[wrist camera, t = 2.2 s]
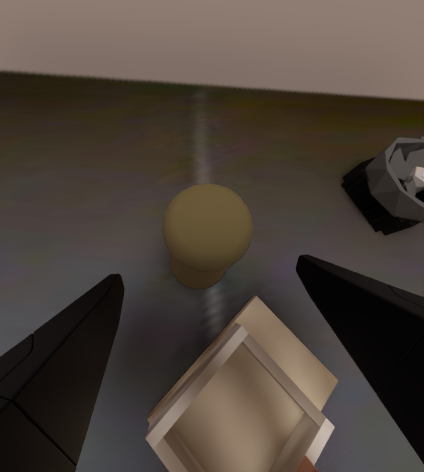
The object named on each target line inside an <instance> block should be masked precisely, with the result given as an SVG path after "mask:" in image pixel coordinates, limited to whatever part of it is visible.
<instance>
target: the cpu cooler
mask: <svg viewBox="0 0 424 472" xmlns="http://www.w3.org/2000/svg"><path fill="white" fill-rule="evenodd" d="M343 179H344V181H345V183H343V184H342V185H343V187H344V189H345V187H346V188H347V187H348V188H347V190H346V189H345V191H346V192H347V191H348V193H349V192H351V193H349V194H350V196H351V198H352V199H353V197H354V199H356V198H357V199H356V200H354V199H353V200H354V202H355V201H356V202H357V201H358V202H357V204H358V205H359V203H360V204H361V202H362V204H364V203H366V202H367V203H368V204H367V203H366V205H365V204H364V206H363V205H362V204H361V205H362V207H363V209H364V207H365V208H366V206H367V207H369V206H371V205H373V204H374V205H376V204H377V205H378V207H380V209H381V211H380V209H379V208H378V207H377V206H376V208H377V209H378V210H379V211H380V213H379V212H378V210H377V209H376V208H375V207H374V209H375V210H376V211H377V212H378V214H380V215H378V214H377V213H376V211H375V210H374V209H373V208H372V210H373V211H374V212H375V213H376V215H378V216H376V215H375V214H374V212H373V211H372V210H371V209H369V210H370V211H371V212H372V213H373V214H374V216H376V217H374V216H373V215H372V217H374V218H373V219H374V220H375V221H376V222H377V223H378V224H376V222H375V221H374V220H373V219H371V220H372V221H373V222H374V223H375V224H376V226H377V227H378V228H379V229H380V230H382V232H383V233H384V235H388V234H391V233H394V232H397V231H400V230H403V229H406V228H409V227H412V226H414V225H416V224H418V223H419V222H420V223H424V137H421V138H419V139H412V138H401V137H398V138H397V139H396V140H395V141H394V142H392V143H391V144H390V145H389V146H387V147H386V148H385V149H384V150H383V151H381V152H380V153H379V154H378V155H377V156H376V157H375V158H372V159H370V160H367V161H365V162H361V163H360V164H359V165H358V166H356V167H355V168H354V169H353V170H351V171H350V172H349V173H348V174H346V175H345V176H344V177H343ZM349 194H348V195H349ZM351 194H352V195H351ZM352 196H353V197H352ZM355 204H356V203H355ZM357 204H356V205H357ZM374 205H373V206H374ZM359 206H360V205H359ZM357 207H358V206H357ZM362 207H360V208H361V209H362ZM371 207H372V206H371ZM369 208H370V207H369ZM358 209H359V208H358ZM359 210H360V209H359ZM369 210H367V211H368V212H369V213H370V214H372V213H371V212H370V211H369ZM367 211H365V212H366V213H367V214H368V215H369V213H368V212H367ZM365 212H363V213H364V214H365V215H366V213H365ZM363 213H362V214H363ZM364 214H363V215H364ZM366 216H367V215H366ZM364 217H365V216H364ZM369 217H370V218H372V217H371V216H369ZM369 217H367V218H368V219H369ZM367 218H366V219H367ZM371 220H369V221H370V222H371V223H372V224H373V225H374V223H373V222H372V221H371ZM377 220H378V221H377ZM369 221H368V222H369ZM370 222H369V223H370ZM370 225H371V224H370ZM376 226H375V225H374V227H375V228H376V229H377V230H378V231H380V230H379V229H378V228H377V227H376ZM379 226H380V227H379ZM374 227H372V228H373V229H374ZM374 230H375V229H374ZM375 232H377V231H376V230H375Z"/></svg>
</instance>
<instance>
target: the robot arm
mask: <svg viewBox="0 0 424 472" xmlns="http://www.w3.org/2000/svg"><path fill="white" fill-rule="evenodd" d="M296 272H297V274H298V276H299V278H300V280H301V281H302V283H303V285H304V287H305V289H306V290H307V292H308V294H309V296H310V297H311V299H312V300H313V302H314V303H315V305H316V306H317V308H318V309H319V311H320V312H321V314H322V315H323V317H324V318H325V320H326V321H327V323H328V324H329V325H330V327H331V328H332V330H333V331H334V333H335V334H336V336H337V337H338V339H339V340H340V342H341V343H342V345H343V346H344V347H345V349H346V350H347V352H348V353H349V355H350V356H351V358H352V359H353V361H354V362H355V364H356V365H357V367H358V368H359V369H360V371H361V372H362V374H363V375H364V377H365V378H366V380H367V381H368V383H369V384H370V386H371V387H372V389H373V390H374V391H375V393H376V394H377V396H378V398H379V399H380V400H381V402H382V403H383V405H384V406H385V408H386V409H387V411H388V412H389V414H390V415H391V417H392V418H393V420H394V421H395V422H396V424H397V425H398V427H399V428H400V430H401V431H402V433H403V434H404V436H405V437H406V439H407V440H408V442H409V443H410V445H411V446H412V447H413V449H414V450H415V452H416V453H417V455H418V456H419V458H420V459H421V461H422V462H423V464H424V297H422V296H419V295H416V294H413V293H410V292H407V291H405V290H402V289H399V288H396V287H394V286H391V285H387V284H385V283H383V282H380V281H377V280H375V279H372V278H369V277H367V276H364V275H361V274H359V273H356V272H353V271H350V270H348V269H345V268H342V267H340V266H337V265H334V264H332V263H329V262H326V261H324V260H321V259H318V258H315V257H313V256H310V255H300V256H299V258H298V262H297V266H296ZM123 297H124V285H123V281H122V278H121V275H120V274H111V275H109V276H107V277H106V278H105V279H103V280H102V281H101V282H99V283H98V284H97V285H95V286H94V287H93V288H91V289H90V290H89V291H87V292H86V293H85V294H84V295H82V296H81V297H80V298H78V299H77V300H76V301H74V302H73V303H72V304H70V305H69V306H68V307H66V308H65V309H64V310H62V311H61V312H60V313H58V314H57V315H56V316H54V317H53V318H52V319H50V320H49V321H48V322H46V323H45V324H44V325H42V326H41V327H40V328H38V329H37V330H36V331H34V334H30V335H29V336H28V337H26V338H25V339H24V340H22V341H21V342H20V343H18V344H17V345H16V346H14V347H13V348H12V349H10V350H9V351H8V352H6V353H5V354H3V355H2V356H1V357H0V472H75V471H76V466H77V463H78V460H79V457H80V453H81V450H82V446H83V443H84V440H85V436H86V433H87V430H88V426H89V423H90V419H91V416H92V413H93V409H94V406H95V403H96V399H97V396H98V392H99V389H100V386H101V382H102V379H103V376H104V372H105V369H106V365H107V362H108V359H109V355H110V352H111V349H112V345H113V342H114V339H115V335H116V332H117V328H118V325H119V320H120V315H121V309H122V303H123Z"/></svg>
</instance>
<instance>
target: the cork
mask: <svg viewBox="0 0 424 472" xmlns="http://www.w3.org/2000/svg"><path fill="white" fill-rule="evenodd" d="M162 230H163V234H164V239H165V243H166V245H167V247H168V249H169V250H170V252H171V261H170V264H171V268H172V272H173V274H174V275H175V277H176V279H177V280H178V281H179V282H181V283H182V284H183V285H184V286H187V287H189V288H192V289H206V288H209V287H212V286H213V285H215V284H216V283H218V282H219V281H220V280H221V278H222V277H223V275H224V274H225V271H226V269H227V268H228V267H230V266H231V265H233V264H234V263H236V262H237V261H238V260H240V259H241V258H242V256H243V255H244V253H245V252H246V251H247V249H248V248H249V244H250V241H251V237H252V234H253V224H252V217H251V215H250V212H249V210H248V207H247V206H246V205H245V203H244V202H243V201H242V199H241V198H240V197H239V196H238V195H237V194H235V193H234V192H233V191H231V190H230V189H228V188H226V187H223V186H220V185H217V184H207V183H205V184H199V185H194V186H191V187H189V188H187V189H185V190H183V191H181V192H180V193H179V194H178V195H177V196H176V197H175V198H174V199H173V200H172V201H171V202H170V204H169V206H168V208H167V210H166V212H165V215H164V221H163V229H162Z"/></svg>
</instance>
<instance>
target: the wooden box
mask: <svg viewBox="0 0 424 472" xmlns="http://www.w3.org/2000/svg"><path fill="white" fill-rule="evenodd" d="M337 382H338V380H337V379H336V378H335V377H334V376H333V375H332V374H331V373H330V372H329V371H328V370H327V369H326V368H325V367H324V365H323V364H322V363H321V362H320V361H319V360H318V359H317V358H316V357H315V356H314V355H313V354H312V353H311V352H310V351H309V350H308V349H307V348H306V347H305V346H304V345H303V344H302V343H301V342H300V341H299V339H298V338H297V337H296V336H295V335H294V334H293V333H292V332H291V331H290V330H289V329H288V328H287V327H286V326H285V325H284V324H283V323H282V322H281V321H280V320H279V319H278V318H277V317H276V316H275V315H274V313H273V312H272V311H271V310H270V309H269V308H268V307H267V306H266V305H265V304H264V303H263V302H262V301H261V300H260V299H259V298H258V297H257V296H253V297H252V298H251V299H250V300H249V301H248V303H247V304H246V305H245V306H244V307H243V308H242V309H241V310H240V312H239V313H238V314H237V315H236V316H235V317H234V318H233V319H232V321H231V322H230V323H229V324H228V325H227V326H226V327H225V329H224V330H223V331H222V332H221V333H220V334H219V335H218V336H217V338H216V339H215V340H214V341H213V342H212V343H211V344H210V345H209V347H208V348H207V349H206V350H205V351H204V352H203V353H202V354H201V356H200V357H199V358H198V359H197V360H196V361H195V362H194V363H193V365H192V366H191V367H190V368H189V369H188V370H187V371H186V373H185V374H184V375H183V376H182V377H181V378H180V379H179V380H178V382H177V383H176V384H175V385H174V386H173V387H172V388H171V389H170V391H169V392H168V393H167V394H166V395H165V396H164V397H163V398H162V400H161V401H160V402H159V403H158V404H157V405H156V406H155V407H154V409H153V410H152V411H151V412H150V413H149V416H148V419H147V421H148V422H149V424H150V425H149V428H148V431H147V434H146V438H145V439H146V440H147V442H148V443H149V444H150V446H151V447H152V448H153V450H154V451H155V453H156V454H157V455H158V457H159V458H160V460H161V461H162V462H163V464H164V465H165V466H166V468H167V469H168V471H169V472H319V471H318V470H317V469H316V467H315V466H314V465H315V463H316V461H317V459H318V457H319V455H320V454H321V452H322V450H323V448H324V446H325V444H326V442H327V441H328V439H329V437H330V435H331V433H332V431H333V429H334V428H335V427H334V426H333V425H332V424H331V423H330V421H329V420H328V419H327V418H326V417H325V416H324V415H323V414H322V413H321V412H320V411H321V410H322V408H323V406H324V405H325V403H326V401H327V399H328V398H329V396H330V394H331V393H332V391H333V389H334V387H335V386H336V384H337Z"/></svg>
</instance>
